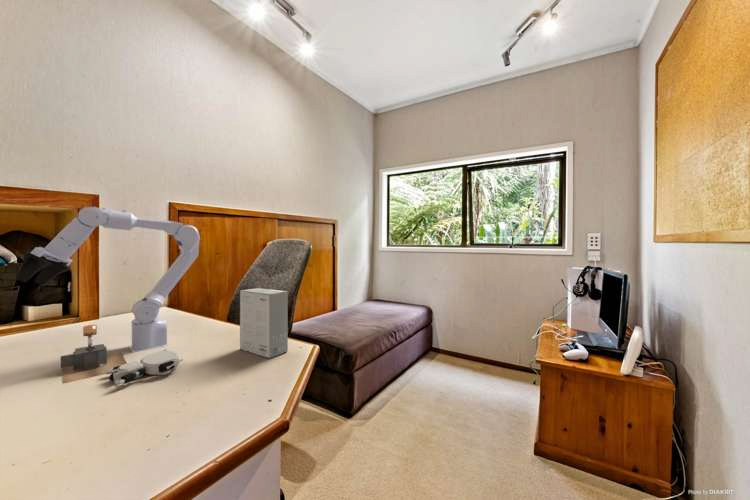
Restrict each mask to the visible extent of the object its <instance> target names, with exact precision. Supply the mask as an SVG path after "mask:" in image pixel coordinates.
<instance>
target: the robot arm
mask: <svg viewBox="0 0 750 500" xmlns="http://www.w3.org/2000/svg"><path fill="white" fill-rule="evenodd" d="M100 226H101V227H103V228H104V229H114V230H124V231H131V230H133V229H134V228H141V229H148V230H149V229H150V230H157V231H158V230H159V231H163V232H165V233H166V234H168V235H170V236H173V239H174V241H176V243H177V244H178V247H179V249H180V254H179V255H178V257H177V258H176V259H175V260H174V262H173V263H172V264H171V265H170V266H169V268H168V269H167V270H166V272H165V273H164V274H163V275H162V276H161V278H160V279H159V280H158V281H157V283H156V284H155V285H154V286H153V288H152V289H151V290H150V291H149V292H148V293H146V295H145V296H144V297H143V298H142V299H140V300H137V301H136V302H135V303H134V304H133V305H132V308H131V311H132V314H133V315H134V319H133V320H132V321H131V345H129V346H128V348H129V350H130V351H131V353H136V352H137V353H138V352H143V351H146V350H151V349H157V348H163V347H167V346H168V325H167V321H166V319H165V318H162V319H159V317H158V316H159V312H160V309H161V307H162V306H163V304H164V302H165V300H166V298H167V297H168V295H169V294H170V293H171V292H172V290H173V289H174V288H175V286H176V285H177V284H178V283H179V281H180V280H181V279H182V277H183V276H184V274H185V273H186V272H187V271H188V270H189V269H190V267H191V266H192V264H194V262H195V261H196V260H197V258H198V256H199V251H200V249H199V248H200V241H201V236H200V233H199V230H198V229H197V228H196V227H195V226H194V225H191V224H184V223H181V222H177V221H172V220H164V219H163V220H162V219H156V218H155V219H154V218H144V217H136V216H135V215H134V214H133V213H132V212H128V210H127V209H122V210H121V211H120V210H112V209H107V207H101V208H99V207H96V206H86V207H84V208H82V209H80V210H79V211H78V213H77V217H75V218H73V219H72V220H71V222H69V223H67V224H66V225H65V227H64V228H62V230H61V231H59V232H58V233H57V235H56V236H54V238H53V239H52V240H51V241H50V242H49V243H48V244H47V245H46V246H45V247H42V246H38V247H37V246H35V247H34V249H33V250H31V251H26V252H25V253H23V260H22V264H21V266H20V267H19V270H18V271H17V274H16V275H15V279H16V280H18V281H20V282H22V283H26V282H28V281H29V280H30V279H31V278H33V277H34V276H35V275H36V274H37V273H38V272H39V273H38V275H37V276H36V278H34V281H33V282H34V283H35V284H38V285H40V286H44V285H45V284H47V283H48V282H51V280H53V279H54V278H56V277H57V276H59V275H61V274H63V273H65V272H68V271H70V270H71V267H70V266H69V265H70V264H71V263H72V262H73V261H74V260H73V259H71V256H72V255H73V254H75V252H76V251H77V250H78V249H80V247H81V246H82V245H83V244H84V243H85V241H87V239H88V238H89V237H90V236H91V233H92V232H94V230H95V229H96V228H97V227H100Z"/></svg>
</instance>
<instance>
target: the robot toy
mask: <svg viewBox="0 0 750 500" xmlns="http://www.w3.org/2000/svg"><path fill="white" fill-rule="evenodd" d="M182 361H184V358H180V356H179V354H178V353H176V352H175V351H171V350H168V349H167V348H165V349H163V350H160V351H157V352H153V353H150V354H146V355H145V356H143V357H142V358H141V360H140V361H137V360H136V361H131V362H128V363H127V364H123V365H121V366H117V367H114V368H113V369H110V370H107V371H106V372H105V373H106V374H105V375H109V376H108V379H109V381H110V382H113V383H114V384H115V385H117V386H120V385H126V384H130V383H132V382H134V381H135V380H136V379H140V378H142V377H143V376H144V375H145V374H147V375H150V376H151V375H152V376H154V375H155V376H156V375H162V376H163V375H167V374H169V373H170V372H171V371H173V370H175V369H176V368H177V367H178V366H179V365H180V362H182Z"/></svg>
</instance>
